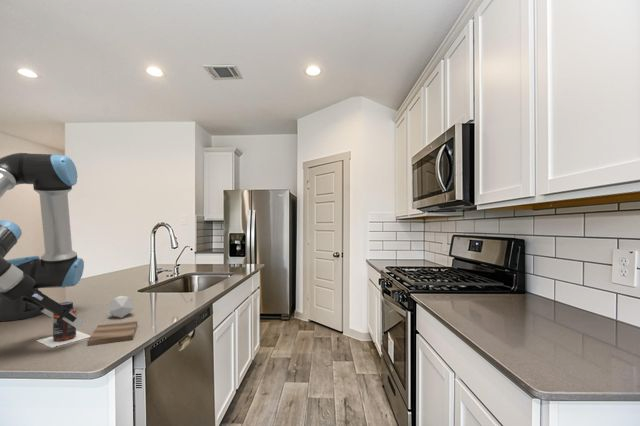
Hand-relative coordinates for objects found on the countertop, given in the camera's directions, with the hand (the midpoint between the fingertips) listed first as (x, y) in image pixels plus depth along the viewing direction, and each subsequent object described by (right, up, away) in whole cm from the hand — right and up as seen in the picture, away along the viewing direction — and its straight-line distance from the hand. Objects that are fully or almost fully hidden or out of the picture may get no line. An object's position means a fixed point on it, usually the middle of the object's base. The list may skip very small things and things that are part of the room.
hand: (71, 321), depth 106 cm
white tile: (-1, -5, -1) cm, 5 cm away
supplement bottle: (-1, -5, -1) cm, 5 cm away
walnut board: (+13, -5, +3) cm, 14 cm away
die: (+2, -6, +23) cm, 24 cm away
